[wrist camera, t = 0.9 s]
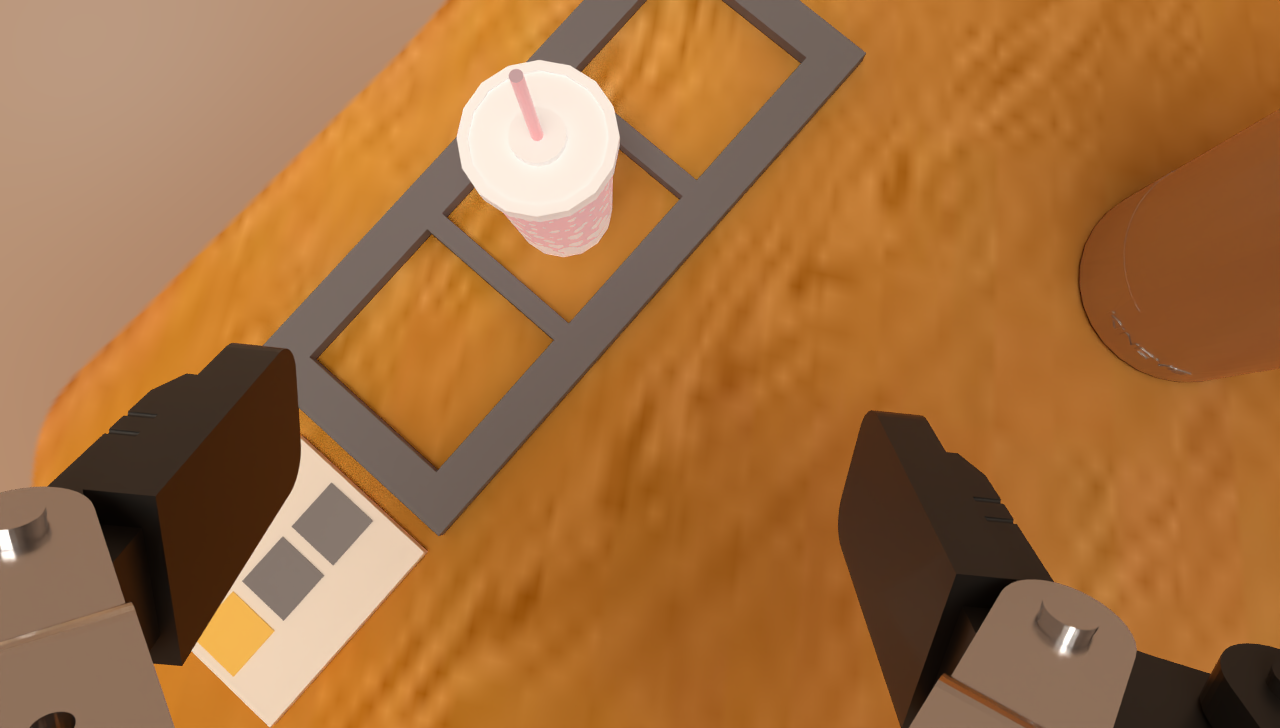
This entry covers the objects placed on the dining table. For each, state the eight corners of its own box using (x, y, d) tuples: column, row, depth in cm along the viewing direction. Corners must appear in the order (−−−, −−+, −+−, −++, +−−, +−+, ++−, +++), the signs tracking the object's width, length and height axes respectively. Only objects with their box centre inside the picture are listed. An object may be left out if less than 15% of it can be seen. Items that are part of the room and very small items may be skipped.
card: (302, 435, 40) (296, 434, 39) (427, 551, 39) (423, 553, 39) (150, 601, 39) (141, 604, 39) (275, 723, 39) (268, 728, 38)
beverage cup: (647, 243, 41) (642, 124, 27) (528, 292, 41) (460, 198, 27) (598, 129, 42) (569, -43, 28) (481, 177, 42) (392, 27, 28)
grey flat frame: (674, -88, 43) (674, -98, 42) (862, 61, 42) (866, 53, 41) (256, 363, 41) (248, 361, 40) (443, 534, 39) (438, 535, 39)
